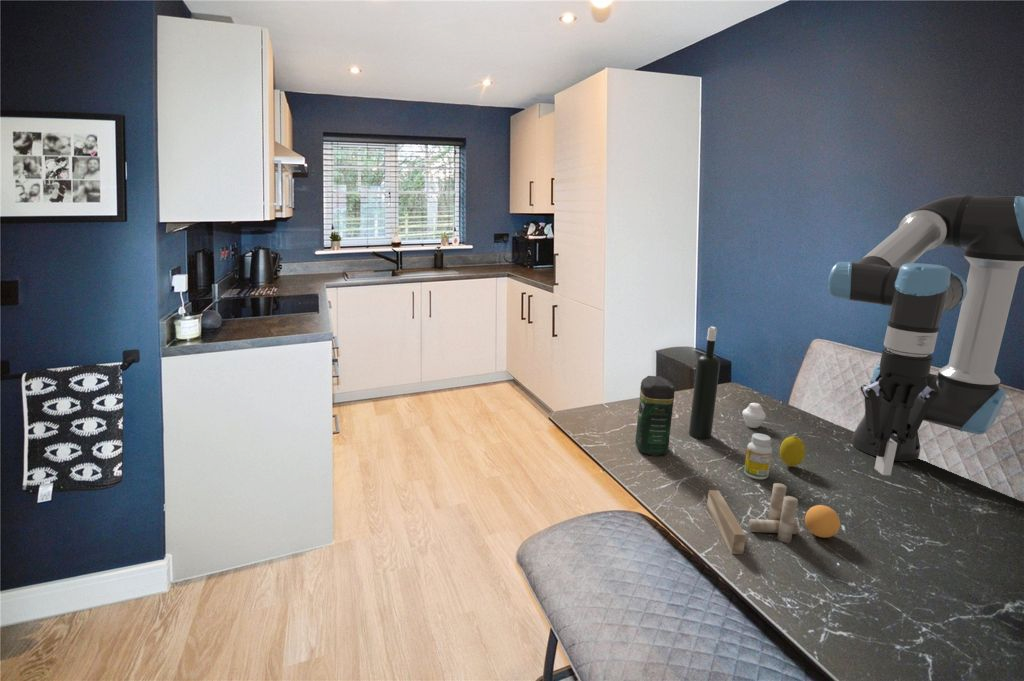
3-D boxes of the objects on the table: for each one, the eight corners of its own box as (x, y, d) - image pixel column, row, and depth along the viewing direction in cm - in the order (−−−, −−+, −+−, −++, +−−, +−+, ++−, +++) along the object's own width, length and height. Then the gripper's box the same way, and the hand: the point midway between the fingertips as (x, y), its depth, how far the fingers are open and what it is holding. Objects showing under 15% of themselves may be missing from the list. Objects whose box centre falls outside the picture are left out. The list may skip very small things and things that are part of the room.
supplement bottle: (763, 482, 134) (769, 443, 131) (740, 474, 137) (745, 436, 135) (771, 474, 138) (777, 436, 135) (748, 467, 141) (753, 430, 139)
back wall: (716, 507, 122) (718, 490, 121) (742, 554, 107) (745, 534, 106) (706, 507, 122) (708, 490, 121) (731, 553, 107) (734, 534, 106)
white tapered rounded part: (761, 423, 169) (765, 400, 167) (766, 431, 163) (769, 407, 161) (739, 420, 170) (742, 398, 168) (742, 429, 164) (746, 405, 162)
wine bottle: (685, 430, 161) (697, 324, 154) (705, 430, 162) (718, 324, 154) (693, 439, 156) (706, 329, 148) (714, 439, 157) (728, 329, 149)
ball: (794, 508, 116) (807, 530, 117) (808, 525, 110) (822, 549, 111) (822, 493, 115) (835, 517, 116) (838, 510, 109) (851, 534, 110)
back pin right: (777, 521, 118) (783, 483, 116) (782, 528, 116) (788, 489, 114) (765, 521, 118) (771, 482, 116) (770, 527, 116) (776, 488, 114)
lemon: (805, 473, 139) (810, 442, 137) (780, 470, 140) (785, 439, 138) (799, 462, 144) (804, 432, 142) (775, 460, 145) (779, 430, 143)
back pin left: (787, 535, 113) (794, 496, 111) (793, 543, 111) (800, 502, 109) (775, 535, 113) (781, 495, 111) (780, 542, 111) (787, 502, 109)
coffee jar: (671, 457, 145) (679, 386, 140) (639, 456, 145) (645, 385, 140) (663, 441, 154) (670, 373, 150) (632, 439, 154) (638, 372, 150)
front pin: (793, 518, 115) (749, 516, 115) (798, 525, 113) (753, 523, 113) (791, 529, 116) (747, 526, 116) (796, 536, 113) (752, 534, 114)
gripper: (882, 355, 101) (858, 480, 107) (959, 358, 101) (930, 483, 107) (859, 344, 108) (837, 461, 114) (931, 347, 108) (905, 464, 114)
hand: (882, 471), depth 111 cm, fingers closed
